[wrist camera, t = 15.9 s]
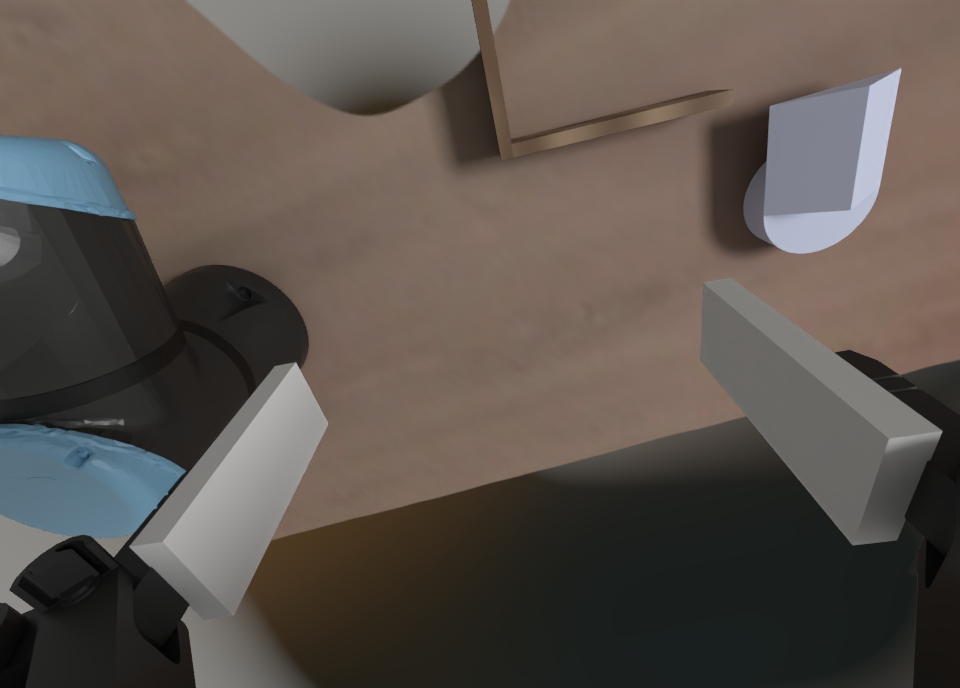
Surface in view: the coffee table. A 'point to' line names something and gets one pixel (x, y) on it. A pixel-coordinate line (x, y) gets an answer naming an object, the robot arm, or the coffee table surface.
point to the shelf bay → (582, 129)
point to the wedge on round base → (822, 164)
